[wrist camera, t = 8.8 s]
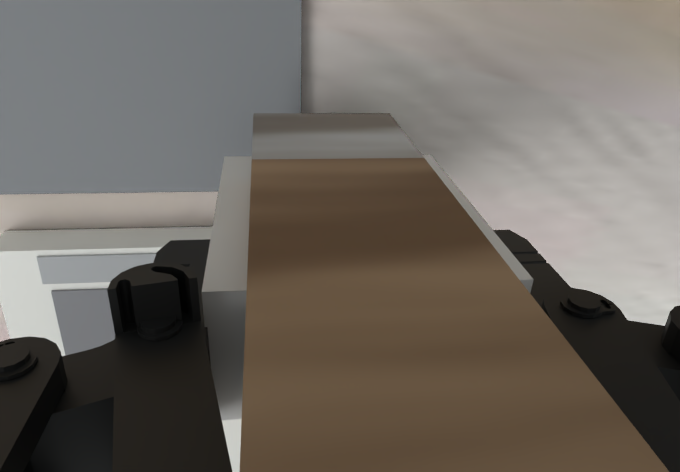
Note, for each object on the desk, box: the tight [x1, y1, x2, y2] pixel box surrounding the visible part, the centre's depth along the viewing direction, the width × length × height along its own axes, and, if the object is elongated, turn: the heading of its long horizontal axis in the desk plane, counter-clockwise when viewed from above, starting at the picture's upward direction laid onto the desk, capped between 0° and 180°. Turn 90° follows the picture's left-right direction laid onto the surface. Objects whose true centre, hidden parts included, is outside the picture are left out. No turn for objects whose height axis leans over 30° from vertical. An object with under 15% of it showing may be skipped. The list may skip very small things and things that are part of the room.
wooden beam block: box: [240, 113, 669, 472], centre depth 11 cm, size 4×4×14 cm
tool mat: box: [0, 0, 301, 194], centre depth 17 cm, size 9×10×1 cm
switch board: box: [0, 226, 242, 472], centre depth 23 cm, size 18×14×2 cm
